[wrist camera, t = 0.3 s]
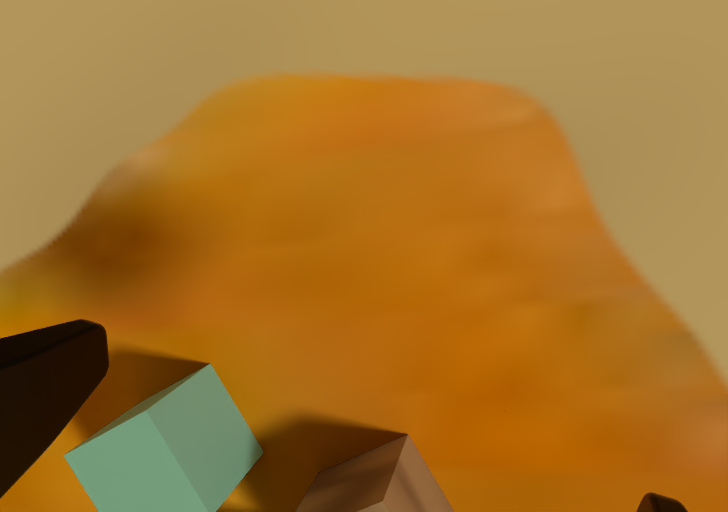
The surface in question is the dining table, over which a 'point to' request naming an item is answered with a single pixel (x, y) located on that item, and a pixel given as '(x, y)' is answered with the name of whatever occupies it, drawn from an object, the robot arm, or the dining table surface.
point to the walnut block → (378, 483)
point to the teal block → (169, 451)
